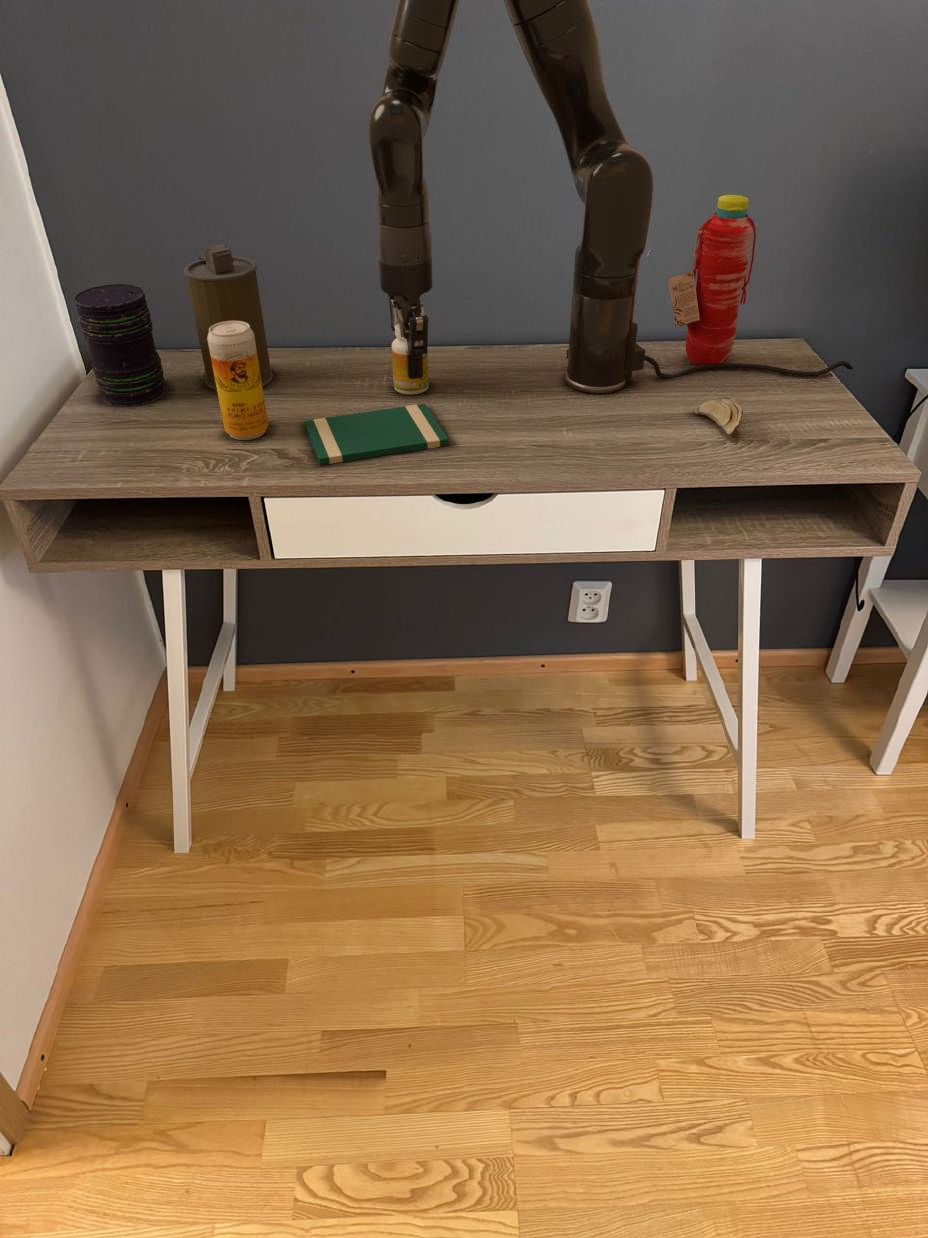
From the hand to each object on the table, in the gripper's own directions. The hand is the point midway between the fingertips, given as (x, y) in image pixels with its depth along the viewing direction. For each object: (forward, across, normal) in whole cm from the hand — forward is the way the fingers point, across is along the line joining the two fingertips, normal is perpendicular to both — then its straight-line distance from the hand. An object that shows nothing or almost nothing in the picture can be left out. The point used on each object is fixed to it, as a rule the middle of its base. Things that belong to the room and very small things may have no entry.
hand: (410, 369), depth 135 cm
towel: (+3, -14, +9) cm, 17 cm away
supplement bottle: (+3, 0, 0) cm, 3 cm away
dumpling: (+3, -27, -38) cm, 47 cm away
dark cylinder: (+3, +12, +41) cm, 43 cm away
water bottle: (+3, -5, -47) cm, 47 cm away
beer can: (+3, -7, +26) cm, 27 cm away
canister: (+3, +12, +25) cm, 28 cm away
